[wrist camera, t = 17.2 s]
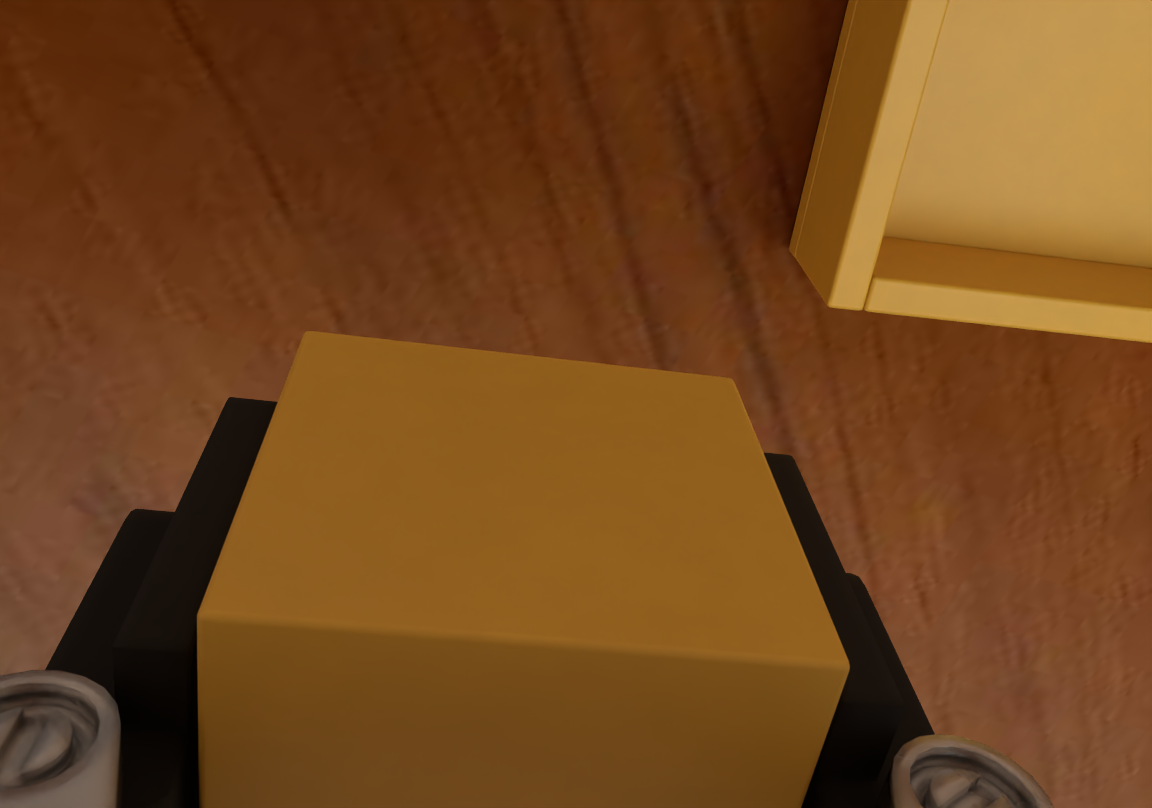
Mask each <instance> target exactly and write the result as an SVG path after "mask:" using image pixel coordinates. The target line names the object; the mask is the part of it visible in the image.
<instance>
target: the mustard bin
mask: <svg viewBox="0 0 1152 808" xmlns="http://www.w3.org/2000/svg"><path fill="white" fill-rule="evenodd" d="M789 250H790V252H791V253H792V255H793V256H794V257H795V258H796V260H797V261H798V263H799V264H800V266H801V267H802V269H803V270H804V272H805V273H806V275H807V276H808V278H809V279H810V281H811V282H812V284H813V285H814V287H815V288H816V290H817V291H818V293H819V294H820V296H821V297H822V299H823V300H824V302H825V303H826V305H827V306H828V307H831V308H840V309H849V310H862V309H864V310H865V311H868V312H877V313H886V314H895V315H904V316H913V317H922V318H931V319H940V320H949V321H958V322H968V323H977V324H986V325H995V326H1004V327H1013V328H1022V329H1031V330H1040V331H1049V332H1058V333H1067V334H1076V335H1086V336H1095V337H1104V338H1113V339H1122V340H1131V341H1140V342H1149V343H1152V0H849V1H848V5H847V9H846V13H845V18H844V22H843V26H842V30H841V34H840V38H839V43H838V47H837V51H836V55H835V59H834V63H833V67H832V72H831V76H830V80H829V84H828V88H827V92H826V97H825V101H824V105H823V109H822V113H821V117H820V122H819V126H818V130H817V134H816V138H815V142H814V147H813V151H812V155H811V159H810V163H809V167H808V172H807V176H806V180H805V184H804V188H803V192H802V196H801V201H800V205H799V209H798V213H797V217H796V221H795V226H794V230H793V234H792V238H791V242H790V246H789Z"/></svg>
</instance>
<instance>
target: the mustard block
mask: <svg viewBox="0 0 1152 808" xmlns="http://www.w3.org/2000/svg"><path fill="white" fill-rule="evenodd" d="M849 669H850V665H849V661H848V658H847V656H846V653H845V651H844V648H843V646H842V644H841V641H840V639H839V636H838V634H837V631H836V629H835V626H834V624H833V622H832V619H831V617H830V614H829V612H828V609H827V607H826V605H825V602H824V600H823V597H822V595H821V592H820V590H819V587H818V585H817V583H816V580H815V578H814V575H813V573H812V570H811V568H810V566H809V563H808V561H807V558H806V556H805V553H804V551H803V548H802V546H801V544H800V541H799V539H798V536H797V534H796V531H795V529H794V527H793V524H792V522H791V519H790V517H789V514H788V512H787V509H786V507H785V505H784V502H783V500H782V497H781V495H780V492H779V490H778V488H777V485H776V483H775V480H774V478H773V475H772V473H771V470H770V468H769V466H768V463H767V461H766V458H765V456H764V453H763V451H762V449H761V446H760V444H759V441H758V439H757V436H756V434H755V431H754V429H753V427H752V424H751V422H750V419H749V417H748V414H747V412H746V410H745V407H744V405H743V402H742V400H741V397H740V395H739V392H738V390H737V388H736V385H735V383H734V380H732V379H730V378H726V377H718V376H709V375H700V374H691V373H682V372H673V371H664V370H655V369H646V368H637V367H628V366H619V365H611V364H602V363H593V362H584V361H575V360H566V359H557V358H548V357H539V356H530V355H521V354H512V353H503V352H495V351H486V350H477V349H468V348H459V347H450V346H441V345H432V344H423V343H414V342H405V341H396V340H388V339H379V338H370V337H361V336H352V335H343V334H334V333H325V332H316V331H307V332H305V333H304V335H303V337H302V339H301V342H300V345H299V347H298V350H297V353H296V355H295V358H294V361H293V363H292V366H291V368H290V371H289V374H288V376H287V379H286V382H285V384H284V387H283V390H282V392H281V395H280V397H279V400H278V403H277V405H276V408H275V411H274V413H273V416H272V419H271V421H270V424H269V427H268V429H267V432H266V434H265V437H264V440H263V442H262V445H261V448H260V450H259V453H258V456H257V458H256V461H255V463H254V466H253V469H252V471H251V474H250V477H249V479H248V482H247V485H246V487H245V490H244V492H243V495H242V498H241V500H240V503H239V506H238V508H237V511H236V514H235V516H234V519H233V522H232V524H231V527H230V529H229V532H228V535H227V537H226V540H225V543H224V545H223V548H222V551H221V553H220V556H219V558H218V561H217V564H216V566H215V569H214V572H213V574H212V577H211V580H210V582H209V585H208V587H207V590H206V593H205V595H204V598H203V601H202V603H201V606H200V609H199V611H198V614H197V670H198V762H199V808H801V806H802V803H803V801H804V798H805V795H806V792H807V789H808V786H809V783H810V781H811V778H812V775H813V772H814V769H815V766H816V764H817V761H818V758H819V755H820V752H821V749H822V747H823V744H824V741H825V738H826V735H827V732H828V730H829V727H830V724H831V721H832V718H833V715H834V713H835V710H836V707H837V704H838V701H839V698H840V696H841V693H842V690H843V687H844V684H845V681H846V679H847V676H848V673H849Z"/></svg>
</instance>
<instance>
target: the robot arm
mask: <svg viewBox="0 0 1152 808" xmlns="http://www.w3.org/2000/svg"><path fill="white" fill-rule="evenodd" d="M277 403H278V402H273V401H263V400H253V399H244V398H234V397H229V398H228V400H227V402H226V404H225V406H224V408H223V410H222V412H221V414H220V416H219V419H218V421H217V423H216V425H215V427H214V429H213V431H212V434H211V436H210V438H209V440H208V442H207V444H206V446H205V449H204V451H203V453H202V455H201V457H200V459H199V461H198V464H197V466H196V468H195V470H194V472H193V474H192V476H191V479H190V481H189V483H188V485H187V487H186V489H185V491H184V494H183V496H182V498H181V500H180V502H179V504H178V507H177V509H176V511H175V512H166V511H155V510H144V509H135V510H133V511H131V512H130V513H129V515H128V516H127V518H126V519H125V521H124V523H123V525H122V526H121V528H120V530H119V532H118V534H117V536H116V538H115V540H114V542H113V543H112V545H111V547H110V549H109V551H108V553H107V555H106V557H105V558H104V560H103V562H102V564H101V566H100V568H99V570H98V572H97V573H96V575H95V577H94V579H93V581H92V583H91V585H90V587H89V589H88V590H87V592H86V594H85V596H84V598H83V600H82V602H81V604H80V605H79V607H78V609H77V611H76V613H75V615H74V617H73V619H72V620H71V622H70V624H69V626H68V628H67V630H66V632H65V634H64V636H63V637H62V639H61V641H60V643H59V645H58V647H57V649H56V651H55V652H54V654H53V656H52V658H51V660H50V662H49V664H48V666H47V667H46V669H45V670H31V671H25V672H19V673H14V674H8V675H2V676H0V808H199V762H198V670H197V614H198V611H199V609H200V606H201V603H202V601H203V598H204V595H205V593H206V590H207V587H208V585H209V582H210V580H211V577H212V574H213V572H214V569H215V566H216V564H217V561H218V558H219V556H220V553H221V551H222V548H223V545H224V543H225V540H226V537H227V535H228V532H229V529H230V527H231V524H232V522H233V519H234V516H235V514H236V511H237V508H238V506H239V503H240V500H241V498H242V495H243V492H244V490H245V487H246V485H247V482H248V479H249V477H250V474H251V471H252V469H253V466H254V463H255V461H256V458H257V456H258V453H259V450H260V448H261V445H262V442H263V440H264V437H265V434H266V432H267V429H268V427H269V424H270V421H271V419H272V416H273V413H274V411H275V408H276V405H277ZM764 456H765V458H766V461H767V463H768V466H769V468H770V470H771V473H772V475H773V478H774V480H775V483H776V485H777V488H778V490H779V492H780V495H781V497H782V500H783V502H784V505H785V507H786V509H787V512H788V514H789V517H790V519H791V522H792V524H793V527H794V529H795V531H796V534H797V536H798V539H799V541H800V544H801V546H802V548H803V551H804V553H805V556H806V558H807V561H808V563H809V566H810V568H811V570H812V573H813V575H814V578H815V580H816V583H817V585H818V587H819V590H820V592H821V595H822V597H823V600H824V602H825V605H826V607H827V609H828V612H829V614H830V617H831V619H832V622H833V624H834V626H835V629H836V631H837V634H838V636H839V639H840V641H841V644H842V646H843V648H844V651H845V653H846V656H847V658H848V661H849V665H850V669H849V673H848V676H847V679H846V681H845V684H844V687H843V690H842V693H841V696H840V698H839V701H838V704H837V707H836V710H835V713H834V715H833V718H832V721H831V724H830V727H829V730H828V732H827V735H826V738H825V741H824V744H823V747H822V749H821V752H820V755H819V758H818V761H817V764H816V766H815V769H814V772H813V775H812V778H811V781H810V783H809V786H808V789H807V792H806V795H805V798H804V801H803V803H802V806H801V808H1054V807H1053V805H1052V803H1051V801H1050V798H1049V796H1048V795H1047V793H1046V792H1045V791H1044V790H1043V789H1042V787H1041V786H1040V785H1039V784H1038V783H1037V781H1036V780H1035V779H1034V778H1033V776H1032V775H1030V774H1029V773H1028V772H1027V771H1025V770H1024V769H1023V768H1022V767H1021V766H1019V765H1018V764H1017V763H1016V762H1014V761H1013V760H1012V759H1011V758H1009V757H1007V756H1005V755H1003V754H1002V753H1000V752H998V751H996V750H994V749H993V748H991V747H989V746H987V745H984V744H981V743H978V742H976V741H973V740H970V739H967V738H964V737H958V736H951V735H943V734H934V732H933V730H932V727H931V725H930V723H929V721H928V719H927V717H926V715H925V713H924V710H923V708H922V706H921V704H920V702H919V700H918V698H917V695H916V693H915V691H914V689H913V687H912V685H911V683H910V681H909V678H908V676H907V674H906V672H905V670H904V668H903V666H902V664H901V661H900V659H899V657H898V655H897V653H896V651H895V649H894V647H893V644H892V642H891V640H890V638H889V636H888V634H887V632H886V629H885V627H884V625H883V623H882V621H881V619H880V617H879V615H878V612H877V610H876V608H875V606H874V604H873V602H872V600H871V598H870V595H869V593H868V591H867V589H866V587H865V585H864V584H863V582H862V581H861V579H860V578H859V577H858V576H856V575H854V574H851V573H845V571H844V569H843V566H842V564H841V562H840V560H839V557H838V555H837V553H836V551H835V549H834V546H833V544H832V542H831V540H830V538H829V535H828V533H827V531H826V529H825V526H824V524H823V522H822V520H821V518H820V515H819V513H818V511H817V509H816V507H815V504H814V502H813V500H812V498H811V495H810V493H809V491H808V489H807V487H806V484H805V482H804V480H803V478H802V476H801V473H800V471H799V469H798V467H797V465H796V462H795V460H794V459H793V457H792V456H790V455H782V454H773V453H764Z"/></svg>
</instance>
